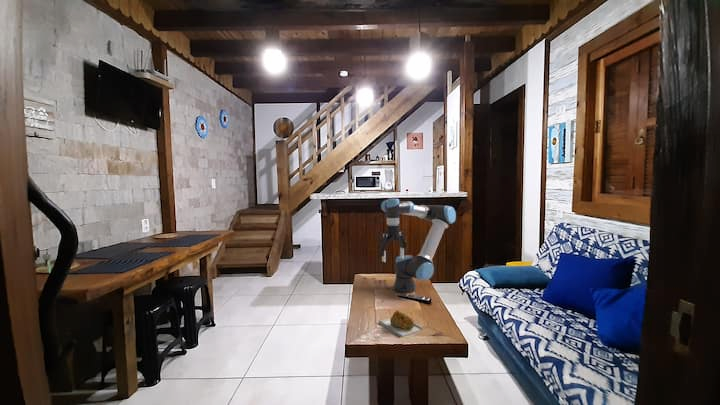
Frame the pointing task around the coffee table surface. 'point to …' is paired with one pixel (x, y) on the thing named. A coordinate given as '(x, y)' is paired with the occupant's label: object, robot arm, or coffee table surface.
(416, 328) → the mat
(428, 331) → the coffee table surface
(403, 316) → the rock
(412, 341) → the coffee table surface
